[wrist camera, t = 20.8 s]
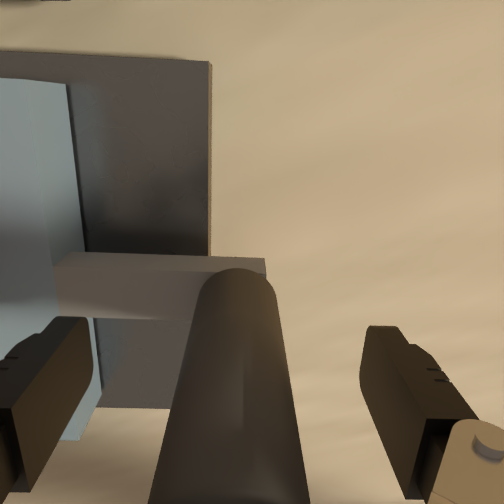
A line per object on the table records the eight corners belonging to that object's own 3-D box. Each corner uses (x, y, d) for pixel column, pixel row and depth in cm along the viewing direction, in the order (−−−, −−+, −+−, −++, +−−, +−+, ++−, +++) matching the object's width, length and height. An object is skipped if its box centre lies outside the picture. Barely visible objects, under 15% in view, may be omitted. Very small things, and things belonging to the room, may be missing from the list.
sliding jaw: (282, 94, 14) (391, 63, 4) (262, 397, 19) (283, 755, 9) (-20, 80, 14) (-861, -2, 3) (39, 392, 19) (-222, 760, 8)
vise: (211, 65, 15) (199, 50, 11) (209, 389, 21) (201, 460, 17) (-191, 45, 15) (-363, 21, 11) (-82, 382, 21) (-166, 454, 16)
